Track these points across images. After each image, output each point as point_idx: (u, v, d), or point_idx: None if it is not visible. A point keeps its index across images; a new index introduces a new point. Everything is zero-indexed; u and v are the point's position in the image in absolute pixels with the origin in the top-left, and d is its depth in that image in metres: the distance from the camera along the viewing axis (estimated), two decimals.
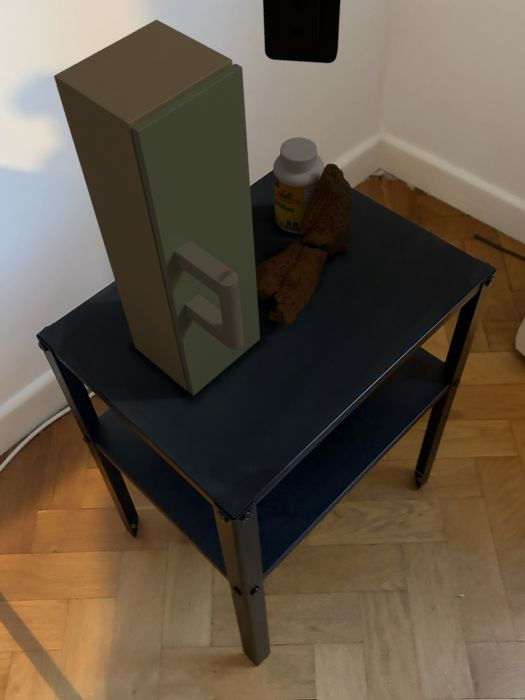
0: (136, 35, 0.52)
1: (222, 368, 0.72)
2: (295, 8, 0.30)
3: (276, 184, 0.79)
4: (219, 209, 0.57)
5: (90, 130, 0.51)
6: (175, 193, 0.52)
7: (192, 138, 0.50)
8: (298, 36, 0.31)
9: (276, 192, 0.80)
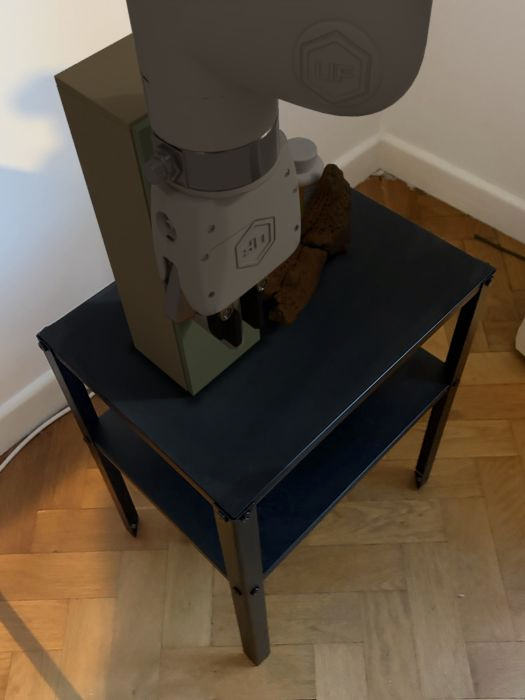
0: None
1: (222, 368, 0.72)
2: (212, 320, 0.55)
3: None
4: None
5: (90, 130, 0.51)
6: None
7: None
8: (215, 330, 0.56)
9: None
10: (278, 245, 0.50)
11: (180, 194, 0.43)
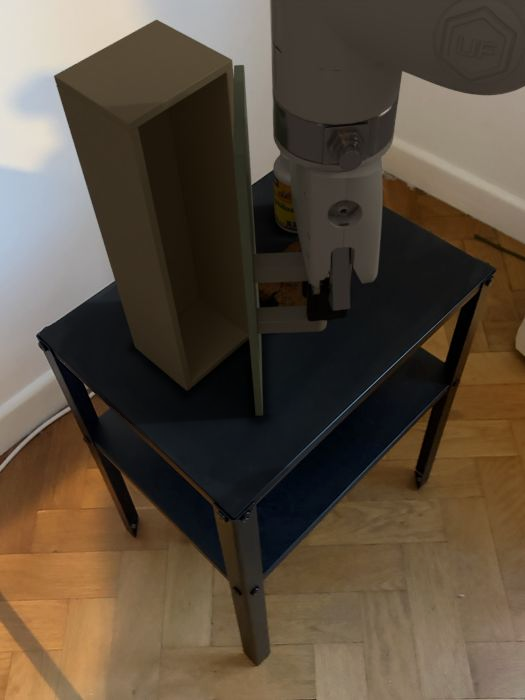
0: (136, 35, 0.52)
1: None
2: (327, 304, 0.56)
3: (276, 185, 0.79)
4: None
5: (90, 130, 0.51)
6: None
7: None
8: (329, 313, 0.57)
9: (276, 192, 0.80)
10: None
11: (357, 170, 0.43)
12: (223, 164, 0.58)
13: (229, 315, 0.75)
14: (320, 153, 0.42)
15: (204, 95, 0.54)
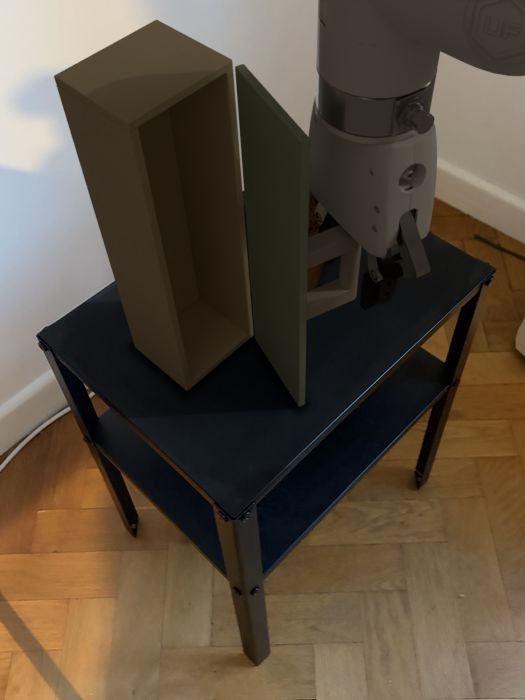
0: (136, 35, 0.52)
1: None
2: (385, 286, 0.57)
3: None
4: None
5: (90, 130, 0.51)
6: None
7: None
8: (385, 296, 0.58)
9: None
10: None
11: (418, 134, 0.46)
12: (223, 164, 0.58)
13: (229, 315, 0.75)
14: (389, 126, 0.45)
15: (204, 95, 0.54)
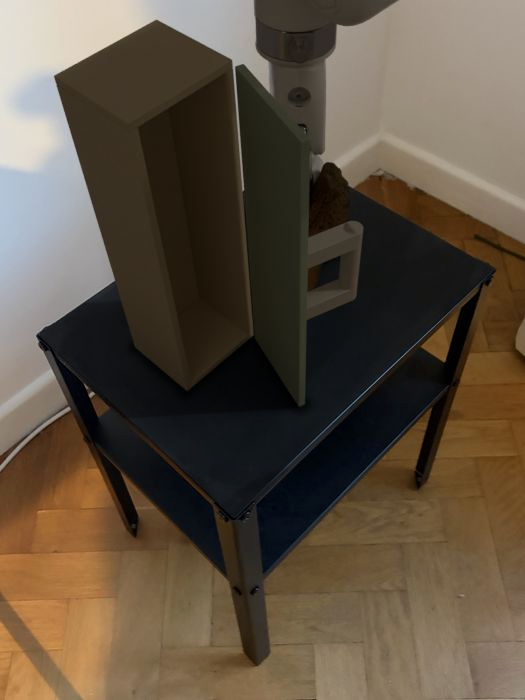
0: (136, 35, 0.52)
1: None
2: None
3: None
4: None
5: (90, 130, 0.51)
6: None
7: None
8: None
9: None
10: None
11: (307, 67, 0.65)
12: (223, 164, 0.58)
13: (229, 315, 0.75)
14: (282, 52, 0.64)
15: (204, 95, 0.54)
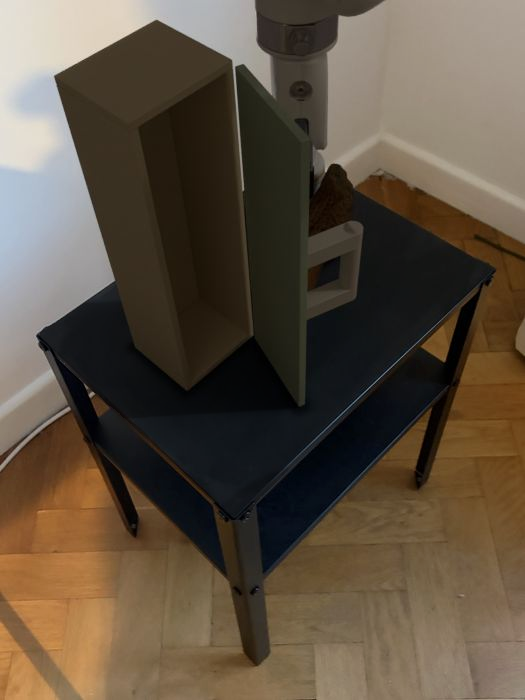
0: (136, 35, 0.52)
1: None
2: None
3: None
4: None
5: (90, 130, 0.51)
6: None
7: None
8: None
9: None
10: None
11: (309, 60, 0.65)
12: (223, 164, 0.58)
13: (229, 315, 0.75)
14: (283, 46, 0.64)
15: (204, 95, 0.54)
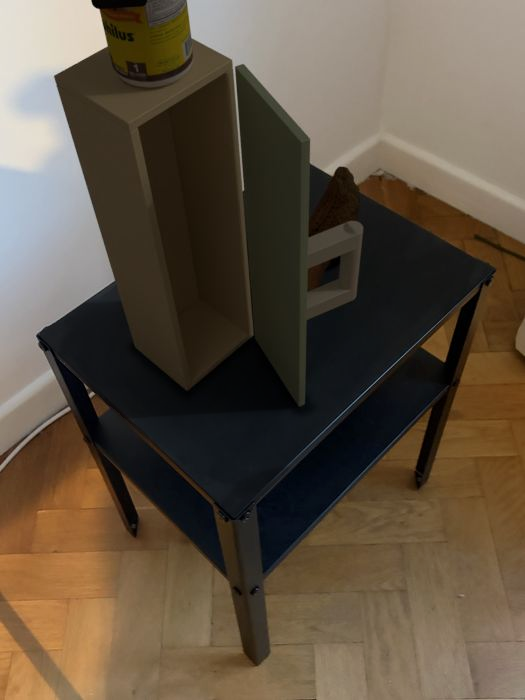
0: None
1: None
2: None
3: None
4: None
5: (90, 130, 0.51)
6: None
7: None
8: None
9: None
10: None
11: None
12: (223, 164, 0.58)
13: (229, 315, 0.75)
14: None
15: (204, 95, 0.54)
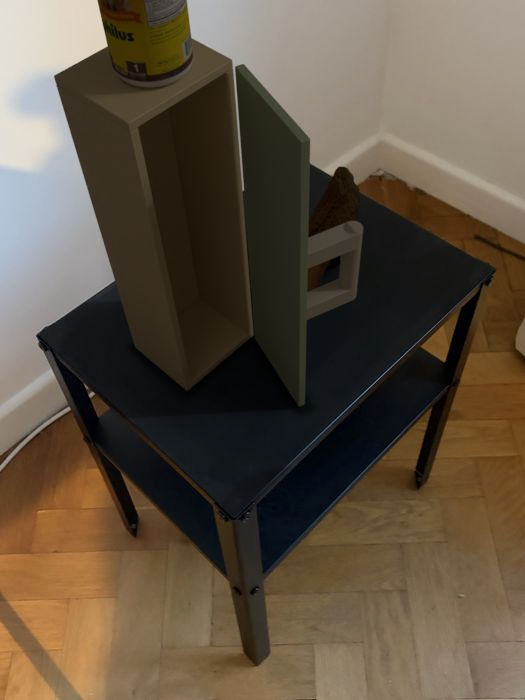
0: None
1: None
2: None
3: None
4: None
5: (90, 130, 0.51)
6: None
7: None
8: None
9: (99, 3, 0.45)
10: None
11: None
12: (223, 164, 0.58)
13: (229, 315, 0.75)
14: None
15: (204, 95, 0.54)
